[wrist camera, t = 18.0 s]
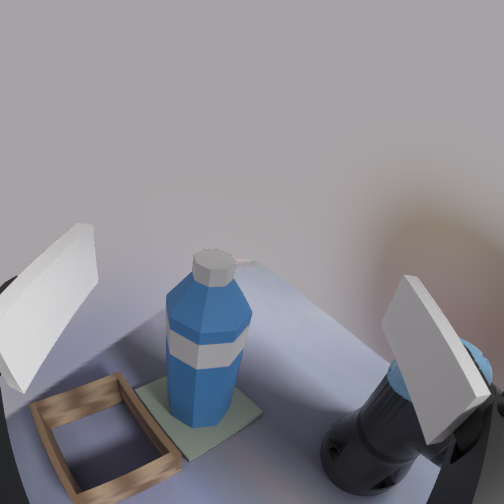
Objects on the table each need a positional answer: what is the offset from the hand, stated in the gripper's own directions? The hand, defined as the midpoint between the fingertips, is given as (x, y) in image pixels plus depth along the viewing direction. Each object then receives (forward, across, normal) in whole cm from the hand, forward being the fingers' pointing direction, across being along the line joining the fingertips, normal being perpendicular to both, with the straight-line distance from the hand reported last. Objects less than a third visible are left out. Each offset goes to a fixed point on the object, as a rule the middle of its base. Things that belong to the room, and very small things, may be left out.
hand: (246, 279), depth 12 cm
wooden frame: (+3, -14, -34) cm, 37 cm away
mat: (+15, -3, -34) cm, 37 cm away
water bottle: (+15, -3, -33) cm, 37 cm away
